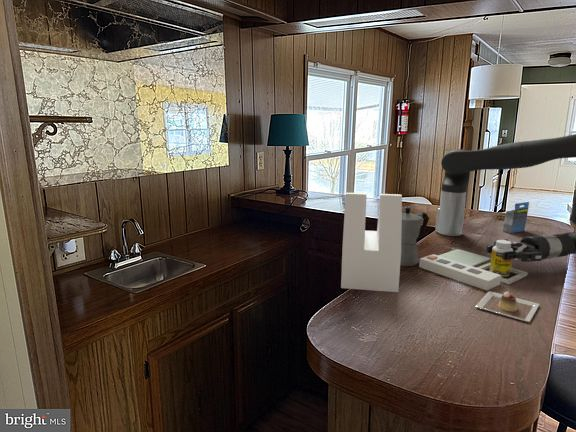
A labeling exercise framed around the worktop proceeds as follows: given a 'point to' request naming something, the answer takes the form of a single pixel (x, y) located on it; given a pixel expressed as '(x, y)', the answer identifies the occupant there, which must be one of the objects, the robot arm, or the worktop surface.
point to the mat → (465, 257)
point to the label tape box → (516, 218)
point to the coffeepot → (411, 236)
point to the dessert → (508, 304)
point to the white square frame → (514, 278)
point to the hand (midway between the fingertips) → (495, 252)
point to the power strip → (460, 271)
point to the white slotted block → (372, 244)
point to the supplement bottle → (500, 258)
